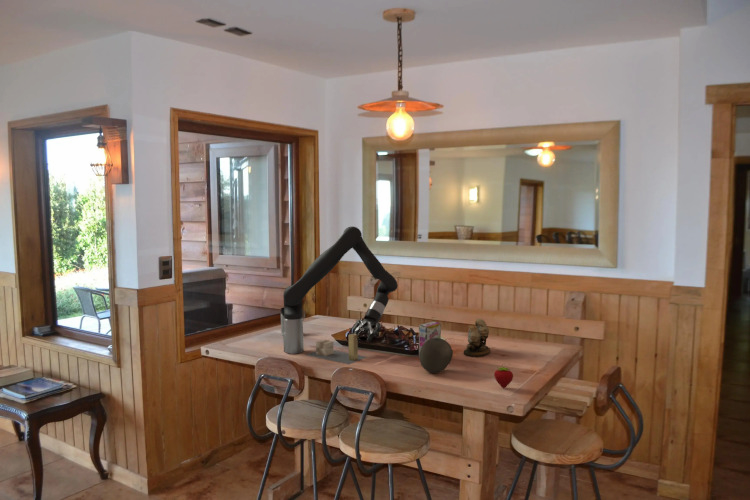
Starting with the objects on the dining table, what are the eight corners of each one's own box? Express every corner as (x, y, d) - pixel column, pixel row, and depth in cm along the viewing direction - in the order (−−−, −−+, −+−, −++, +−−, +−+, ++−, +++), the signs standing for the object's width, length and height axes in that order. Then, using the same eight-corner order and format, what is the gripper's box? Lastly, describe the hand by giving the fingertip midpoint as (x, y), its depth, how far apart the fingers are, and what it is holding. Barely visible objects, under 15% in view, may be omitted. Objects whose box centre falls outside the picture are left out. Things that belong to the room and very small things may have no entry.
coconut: (429, 379, 238) (429, 344, 237) (414, 369, 251) (414, 336, 250) (458, 374, 244) (458, 340, 243) (441, 365, 257) (441, 333, 256)
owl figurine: (472, 346, 288) (472, 314, 286) (494, 349, 282) (495, 316, 281) (459, 355, 273) (459, 320, 271) (482, 358, 267) (483, 323, 265)
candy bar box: (426, 360, 265) (426, 326, 263) (418, 358, 268) (418, 324, 267) (441, 355, 273) (441, 322, 271) (433, 353, 276) (433, 320, 275)
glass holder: (279, 333, 323) (278, 307, 322) (304, 331, 328) (303, 305, 326) (281, 336, 315) (280, 310, 314) (306, 334, 319) (306, 308, 318)
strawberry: (511, 391, 221) (511, 367, 220) (492, 389, 225) (492, 364, 224) (514, 387, 227) (514, 363, 226) (496, 384, 230) (496, 360, 229)
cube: (316, 354, 277) (315, 342, 276) (324, 351, 282) (324, 339, 281) (325, 356, 273) (325, 343, 273) (333, 353, 278) (333, 341, 277)
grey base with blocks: (304, 355, 276) (303, 330, 275) (323, 349, 287) (323, 325, 286) (348, 365, 259) (348, 338, 258) (367, 358, 270) (367, 332, 269)
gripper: (360, 306, 280) (345, 334, 272) (383, 309, 272) (369, 338, 264) (366, 315, 285) (353, 342, 277) (389, 318, 276) (376, 346, 268)
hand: (360, 340), depth 270 cm, fingers open, 8 cm apart
